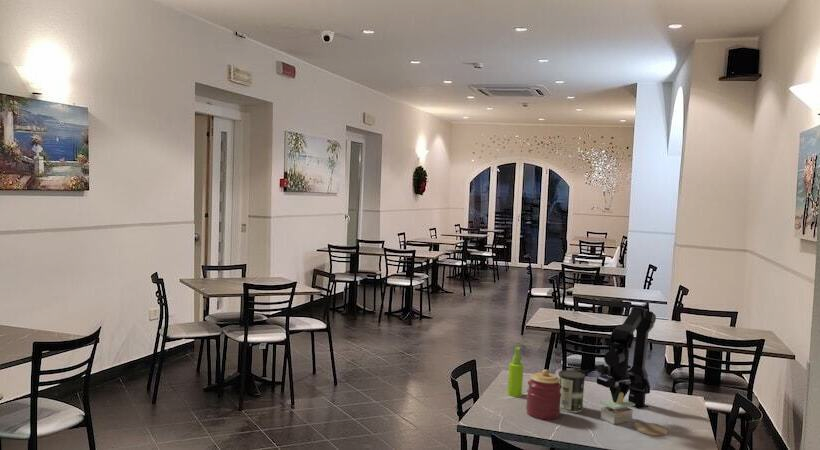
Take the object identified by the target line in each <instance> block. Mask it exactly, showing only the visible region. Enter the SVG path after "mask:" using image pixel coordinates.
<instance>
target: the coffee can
mask: <svg viewBox="0 0 820 450" xmlns="http://www.w3.org/2000/svg"><path fill="white" fill-rule="evenodd" d="M558 378H559V379H560V382H559V383H560V384H561V385H562V388H561V389H560V393H561V399H560V411H562V412H565V413H572V414H576V413H581V412H583V407H584V406H583V405H584V404H583V403H584V390H585V380H586V379H585V378H586V375H585V374H584V373H583V372H579V371H576V370H568V369H567V370H560V371H558Z"/></svg>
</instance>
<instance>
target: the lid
mask: <svg viewBox="0 0 820 450" xmlns="http://www.w3.org/2000/svg"><path fill="white" fill-rule="evenodd" d="M623 396H624V393H623V392H619V396H618V399H617V401H616V402H613V399H612V398H611V399H610V398H609V399H604V400H599V404H602V406H603V405H604V407H609V408H612V409H614V410H615V409H621V408H626V407H627V408H631V407H633V406H635V404H634V403H632V402H629V401H628V399H627V400H626V399H625V398H624V399H623Z"/></svg>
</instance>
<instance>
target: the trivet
mask: <svg viewBox="0 0 820 450" xmlns="http://www.w3.org/2000/svg"><path fill="white" fill-rule="evenodd" d="M633 429H635V430H636V431H637V432H639V433H643V434H644V435H649V436H654V437H655V436H656V437H657V436H662V437H663V436H666V435H668V434H669V430H668V429H667V428H666V427H665V426H663V425H659V424H657V423H654V422H653V423H652V422H645V421H643V422H641V421H640V422H636V423H634V424H633Z"/></svg>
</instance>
